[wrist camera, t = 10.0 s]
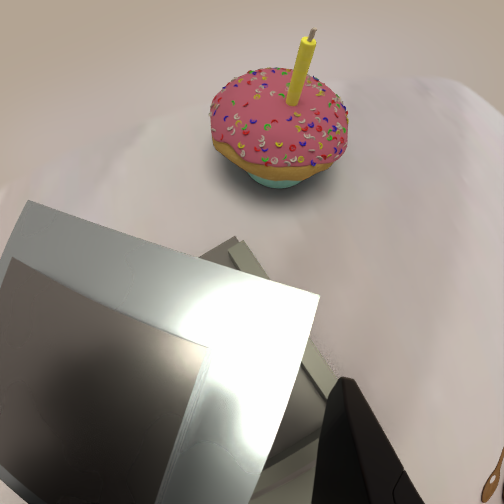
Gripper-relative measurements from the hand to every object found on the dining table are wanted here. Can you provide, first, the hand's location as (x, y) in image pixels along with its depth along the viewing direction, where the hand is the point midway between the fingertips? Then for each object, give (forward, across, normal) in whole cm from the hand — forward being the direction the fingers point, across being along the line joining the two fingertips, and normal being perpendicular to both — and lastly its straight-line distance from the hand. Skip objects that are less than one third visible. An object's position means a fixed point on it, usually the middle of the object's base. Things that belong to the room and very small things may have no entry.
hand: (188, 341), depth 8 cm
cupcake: (+16, +1, -3) cm, 16 cm away
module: (+5, 0, +6) cm, 8 cm away
